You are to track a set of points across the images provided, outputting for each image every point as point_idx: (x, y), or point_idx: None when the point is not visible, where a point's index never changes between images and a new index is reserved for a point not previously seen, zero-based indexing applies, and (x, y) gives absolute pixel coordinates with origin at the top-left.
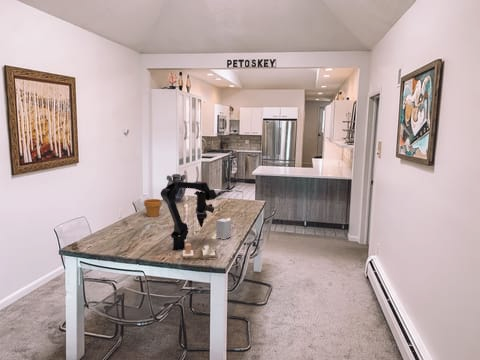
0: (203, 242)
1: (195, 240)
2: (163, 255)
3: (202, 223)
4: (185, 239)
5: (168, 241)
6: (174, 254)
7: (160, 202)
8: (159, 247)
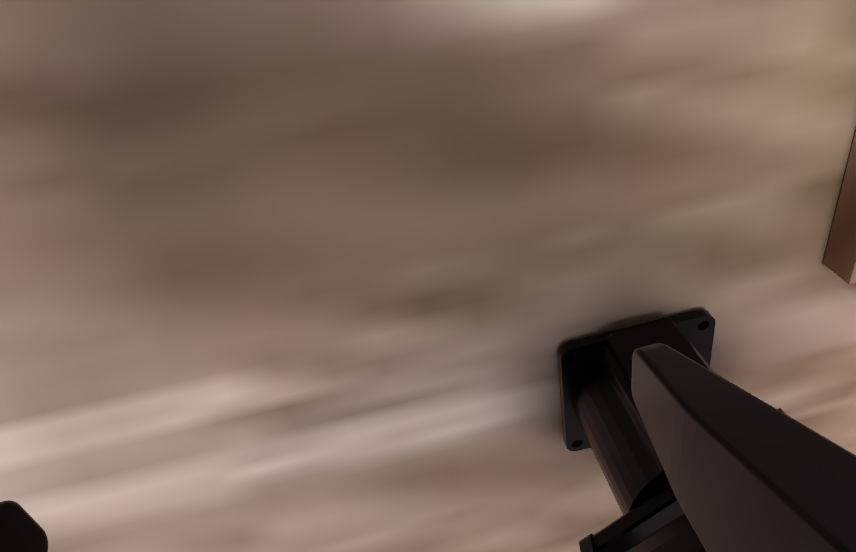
0: (260, 78)
1: (177, 258)
2: (834, 439)
3: (832, 463)
4: (783, 411)
5: (344, 539)
6: (837, 360)
7: None
8: (573, 538)
